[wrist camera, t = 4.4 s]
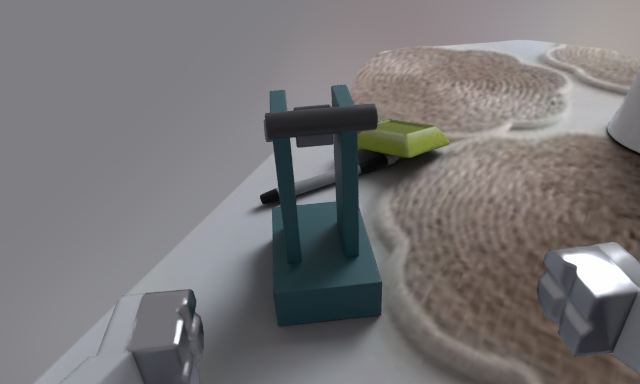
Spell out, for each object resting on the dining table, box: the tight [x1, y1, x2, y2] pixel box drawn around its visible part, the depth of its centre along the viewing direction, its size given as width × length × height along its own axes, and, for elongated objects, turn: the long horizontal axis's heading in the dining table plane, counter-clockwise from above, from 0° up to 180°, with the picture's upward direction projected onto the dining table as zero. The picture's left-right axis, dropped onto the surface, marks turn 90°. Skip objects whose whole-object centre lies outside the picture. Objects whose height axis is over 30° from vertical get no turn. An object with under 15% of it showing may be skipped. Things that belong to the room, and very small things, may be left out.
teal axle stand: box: [264, 85, 382, 326], centre depth 32 cm, size 10×7×14 cm
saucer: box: [358, 119, 450, 158], centre depth 50 cm, size 9×9×2 cm
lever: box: [265, 104, 378, 148], centre depth 25 cm, size 10×5×2 cm, turn 5°
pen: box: [260, 154, 400, 204], centre depth 46 cm, size 1×16×1 cm, turn 119°
